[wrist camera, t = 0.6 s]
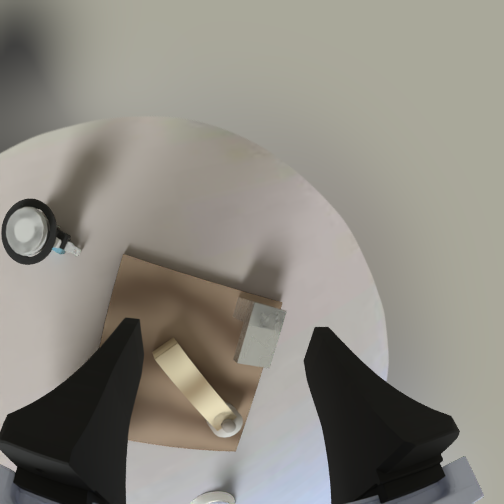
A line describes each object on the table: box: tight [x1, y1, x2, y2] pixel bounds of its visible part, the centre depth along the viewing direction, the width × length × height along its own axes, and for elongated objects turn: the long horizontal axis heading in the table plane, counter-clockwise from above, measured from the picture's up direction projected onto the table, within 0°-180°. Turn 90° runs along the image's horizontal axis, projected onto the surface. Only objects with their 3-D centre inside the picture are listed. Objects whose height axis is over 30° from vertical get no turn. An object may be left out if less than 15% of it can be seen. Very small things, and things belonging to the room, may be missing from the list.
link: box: [152, 337, 243, 438], centre depth 31 cm, size 14×4×3 cm, turn 32°
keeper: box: [233, 297, 286, 368], centre depth 34 cm, size 7×4×5 cm, turn 162°
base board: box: [99, 254, 282, 451], centre depth 33 cm, size 22×20×1 cm
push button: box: [2, 199, 81, 265], centre depth 23 cm, size 7×5×10 cm
